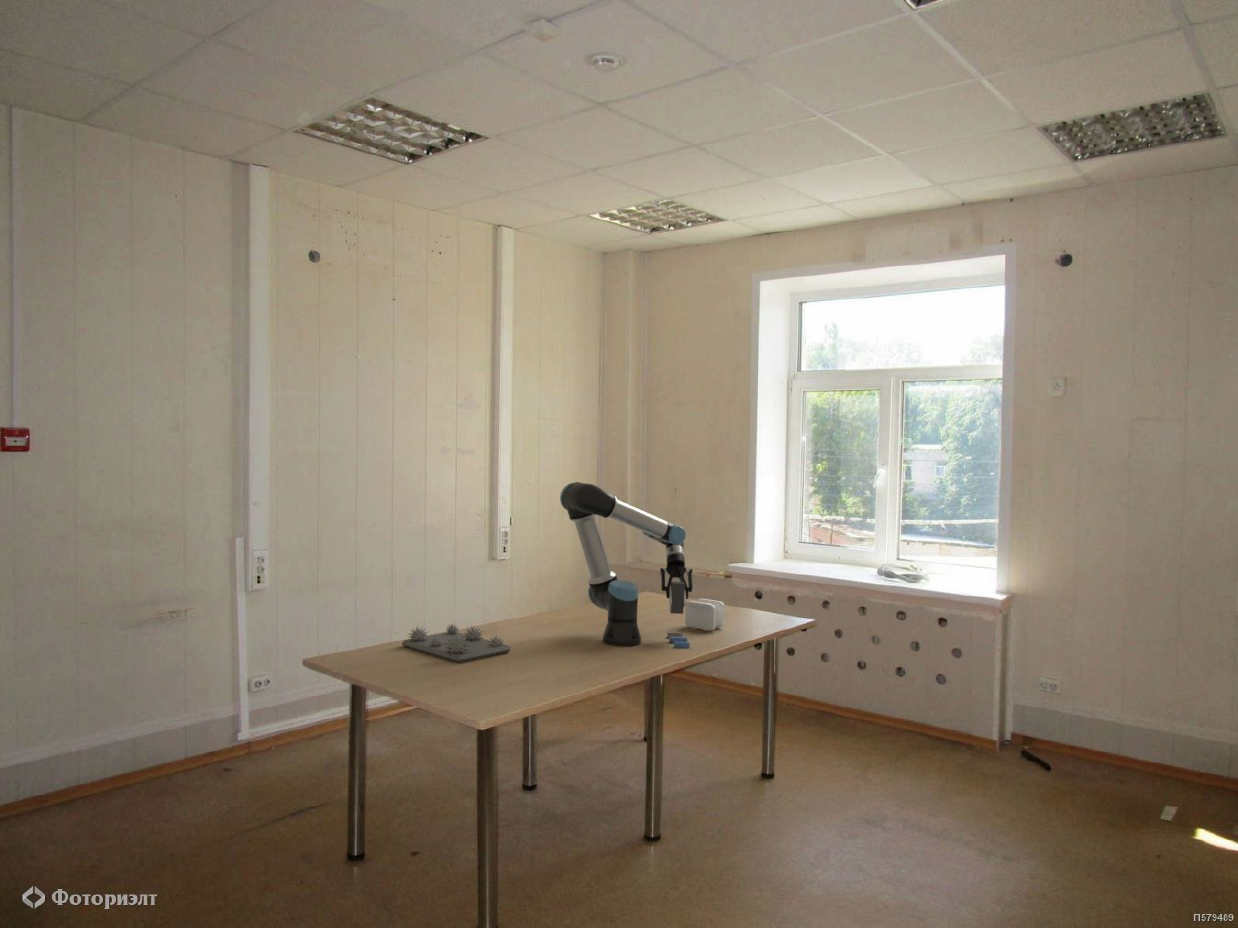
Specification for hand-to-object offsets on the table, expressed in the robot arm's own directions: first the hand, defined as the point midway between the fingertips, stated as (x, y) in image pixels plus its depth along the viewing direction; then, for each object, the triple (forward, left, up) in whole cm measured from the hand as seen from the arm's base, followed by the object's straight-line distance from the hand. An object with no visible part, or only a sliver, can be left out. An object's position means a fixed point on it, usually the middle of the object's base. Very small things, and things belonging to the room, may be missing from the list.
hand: (677, 604), depth 330 cm
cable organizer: (+15, +28, -15) cm, 35 cm away
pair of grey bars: (0, +4, -15) cm, 15 cm away
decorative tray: (-84, -21, -16) cm, 88 cm away
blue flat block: (+1, -5, -15) cm, 16 cm away
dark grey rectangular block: (0, +4, -4) cm, 5 cm away
